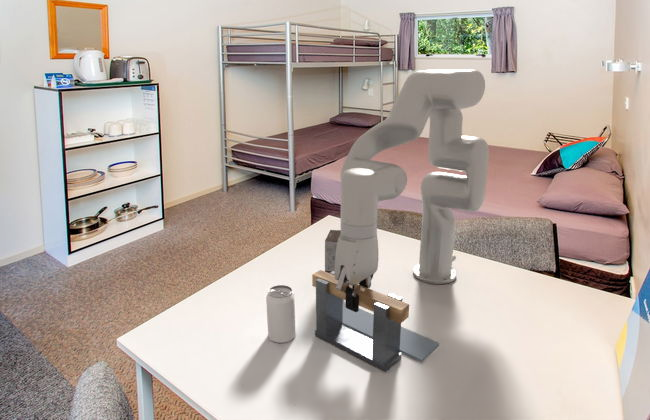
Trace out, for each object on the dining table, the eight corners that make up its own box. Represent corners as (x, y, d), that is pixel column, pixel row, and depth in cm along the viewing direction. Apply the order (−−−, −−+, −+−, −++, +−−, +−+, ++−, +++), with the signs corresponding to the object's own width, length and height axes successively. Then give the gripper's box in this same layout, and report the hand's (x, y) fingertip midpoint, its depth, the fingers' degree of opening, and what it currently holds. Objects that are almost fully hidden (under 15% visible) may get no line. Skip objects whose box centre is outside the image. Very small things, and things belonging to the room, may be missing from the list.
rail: (320, 281, 107) (320, 269, 106) (408, 317, 92) (409, 304, 91) (312, 285, 105) (312, 274, 104) (400, 323, 90) (401, 310, 89)
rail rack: (331, 325, 111) (331, 270, 106) (401, 359, 98) (404, 298, 94) (314, 336, 107) (314, 279, 102) (385, 372, 94) (388, 310, 89)
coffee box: (347, 296, 124) (347, 242, 119) (324, 294, 126) (323, 240, 120) (351, 281, 133) (352, 230, 128) (330, 279, 134) (330, 228, 129)
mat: (344, 303, 121) (344, 301, 120) (439, 345, 103) (439, 343, 103) (324, 316, 115) (324, 314, 115) (421, 362, 97) (422, 359, 97)
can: (280, 325, 111) (278, 281, 107) (301, 333, 108) (299, 289, 104) (262, 338, 106) (259, 292, 102) (283, 347, 103) (282, 301, 99)
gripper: (367, 214, 101) (365, 287, 107) (318, 235, 90) (319, 315, 96) (395, 222, 97) (392, 297, 103) (348, 245, 85) (347, 328, 91)
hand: (357, 305), depth 99 cm, fingers closed on rail, 3 cm apart
